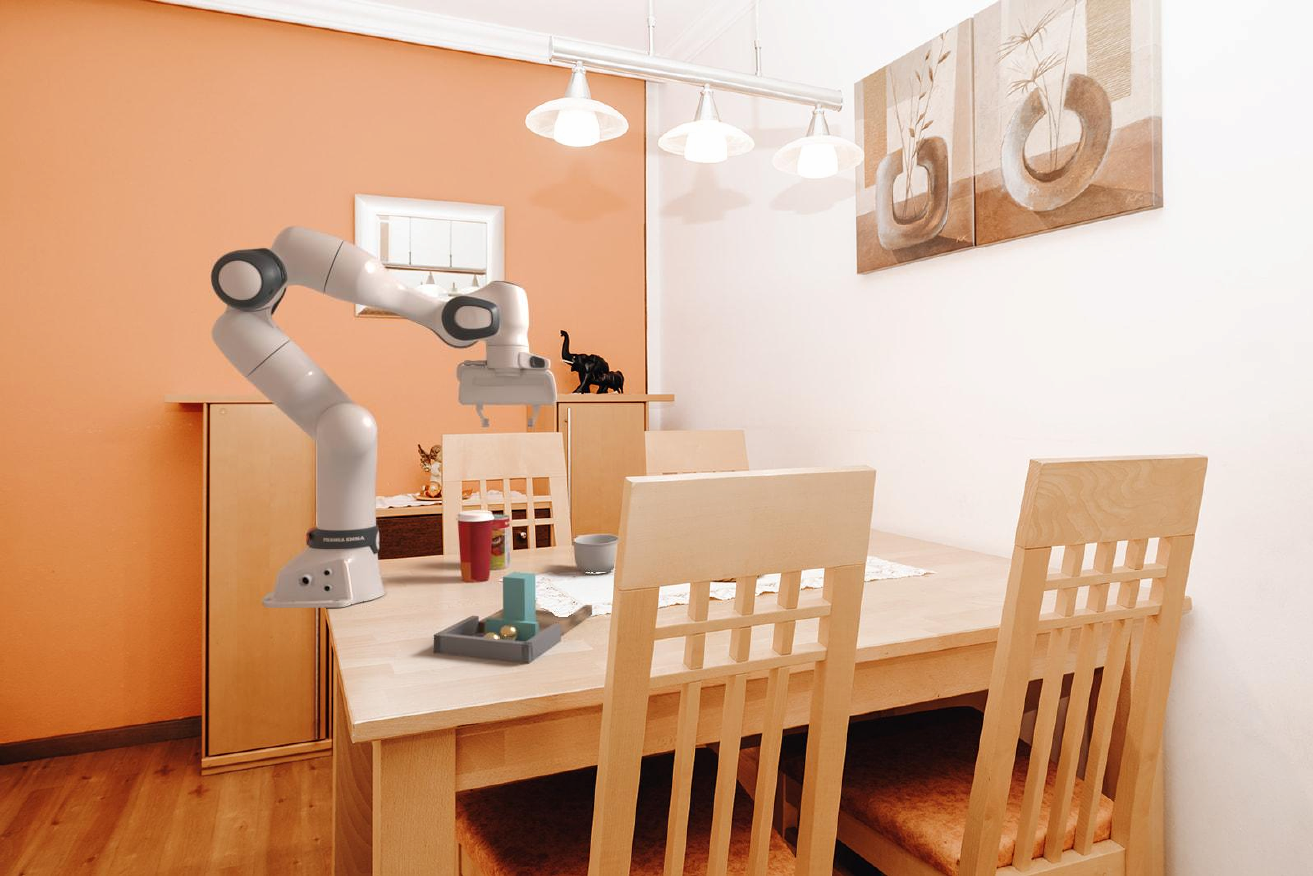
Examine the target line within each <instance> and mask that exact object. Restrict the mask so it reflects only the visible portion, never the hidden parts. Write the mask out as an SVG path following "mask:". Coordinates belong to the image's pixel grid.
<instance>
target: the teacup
mask: <svg viewBox="0 0 1313 876" xmlns="http://www.w3.org/2000/svg"><path fill="white" fill-rule="evenodd" d="M618 537H619V535H616V534H610V533H593V534H585V535H584V534H583V535H581V534H579V535H575V536H574V537H573V541H572V544H573V545H572V546H573V550H574V551H573V552H574V561H575V564H576V567H578V569H580V570H581V571H582V572H583V573H585V572H590V573H591V572H593V573H596V572H608V573H611V572H612V571H613V570H614V569H615V568H614V562H615V554H616V545H617V542H618ZM611 570H612V571H611ZM610 571H611V572H610Z"/></svg>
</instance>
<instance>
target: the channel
mask: <svg viewBox="0 0 1313 876" xmlns="http://www.w3.org/2000/svg"><path fill="white" fill-rule="evenodd" d="M549 611H550V610H543V609H542V610H541V609H536V622H539V633H540V632H542V631H543V630H545V629H546V628H548V627H549V626H551V625H552V624H554V623H555V624H561V637H563V636H564V635H566V634H567V633H569V632H570V631H572V630H573V629H574V628H577V626H578V625H580V624H582V623H583V622H585V621H586V620H587V619H588V618H590V617H592V616H593V605H592V604H585V605H584V606H582V607H580V608H579V609H576V610H575V611H574V612H572V613H573V614H571V615H569V616H568V617H558V616H555V615H554V614H553V613H552V612H549ZM591 615H592V616H591ZM489 617H492V618H502V619H503V608H502V609H500V610H498V611H497V612H495V613H492V614H491V615H488V616H486V617H485V618H482V619H481V620H479V633H484V634H486V619H488V618H489Z"/></svg>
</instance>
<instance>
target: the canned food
mask: <svg viewBox="0 0 1313 876" xmlns="http://www.w3.org/2000/svg"><path fill="white" fill-rule="evenodd" d="M492 515H493V517H494V519H493V527H492V545H491V563H490V571H498V570H505V569H508V568H510V565H511V564H510V563H511V559H510V558H511V557H510V554H511V549H510V548H511V547H510V546H511V545H510V542H511V541H510V540H511V539H510V538H511V537H510V535H511V534H510V533H511V532H510V529H511V528H510V522H511V521H510V520H511V519H510V516H509V515H507V514H492Z"/></svg>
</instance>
